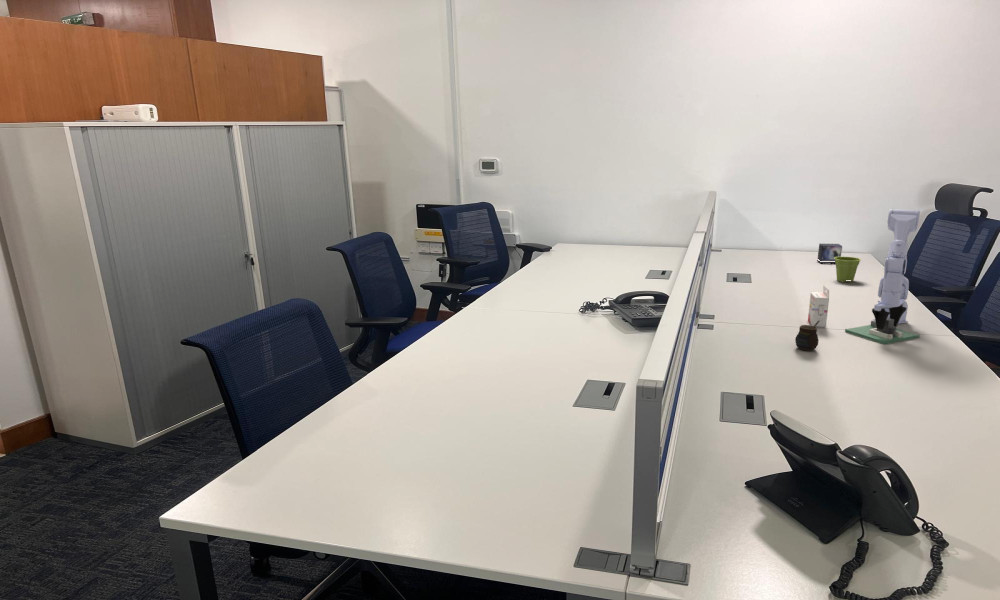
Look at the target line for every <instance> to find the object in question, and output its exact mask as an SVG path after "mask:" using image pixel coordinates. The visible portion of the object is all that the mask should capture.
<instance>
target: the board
mask: <svg viewBox="0 0 1000 600" xmlns="http://www.w3.org/2000/svg"><path fill="white" fill-rule="evenodd" d="M897 326H898V325H897ZM897 326H896V327H895V326H893V328H894V329H896V332H895V337H893V335H892V334H886V333H882V332H879V331H877V327H876V321H875V320H873V319H872V320H871V321H870V324H868V325H862V326H857V327H855V326H854V327H851V328H850V327H849V328H845V329H844V332H845V333H847V334H850V335H853V336H857V337H860V338H862V339H863V338H864V339H867V340H869V341H872V342H876V343H879V344H882V345H888V344H891V343H892V344H893V343H898V342H903V341H909V340H914V339H917V338H920V334H918V333H915V332H911V331H907V330H903V329H901V328H898V327H897Z"/></svg>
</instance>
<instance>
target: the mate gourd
mask: <svg viewBox="0 0 1000 600" xmlns="http://www.w3.org/2000/svg"><path fill="white" fill-rule="evenodd" d="M818 323H819V321H817V323H816V324H815V325H814V326H812V325H811V324H810V325H809V324H801V325H799V329H798V330H799V331H798V332H797V334H796V337H795V342H794V343H795V346H796V348H797V349H799V350H801V351H804V352H805V351H806V352H811V351H814V350H815V349H817V347H818V345H819V337H818V336H819V335H818V333H817V332H818V328H817V327H815V326H816V325H817V324H818Z"/></svg>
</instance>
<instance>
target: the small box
mask: <svg viewBox="0 0 1000 600" xmlns="http://www.w3.org/2000/svg"><path fill="white" fill-rule="evenodd" d="M842 251H843V245H841V244H840V243H818V252H817V259H819V260H820V261H835V259H834V257H842ZM817 261H818V260H816V262H817ZM820 261H818V263H819V264H820V263H835V262H820Z"/></svg>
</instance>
